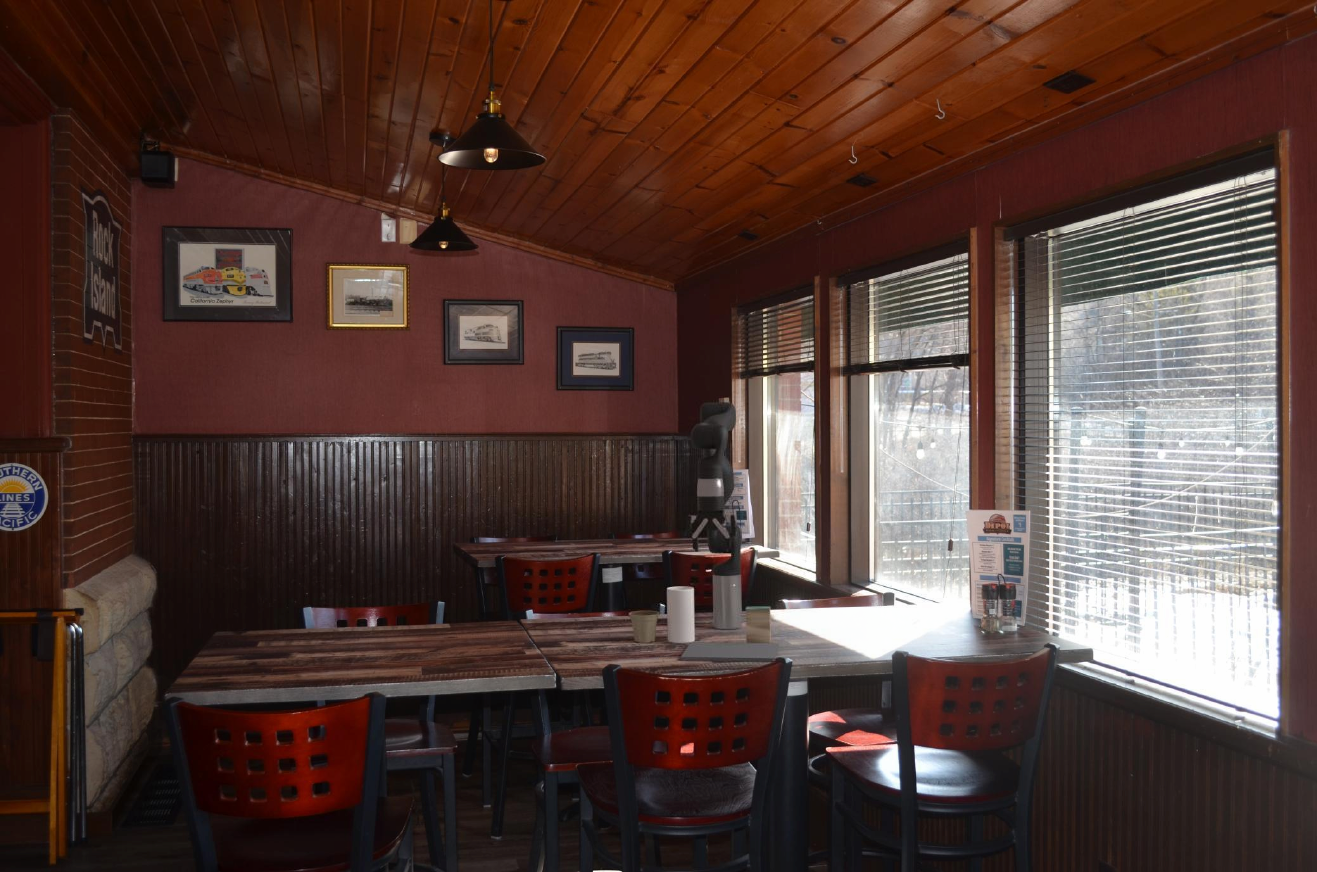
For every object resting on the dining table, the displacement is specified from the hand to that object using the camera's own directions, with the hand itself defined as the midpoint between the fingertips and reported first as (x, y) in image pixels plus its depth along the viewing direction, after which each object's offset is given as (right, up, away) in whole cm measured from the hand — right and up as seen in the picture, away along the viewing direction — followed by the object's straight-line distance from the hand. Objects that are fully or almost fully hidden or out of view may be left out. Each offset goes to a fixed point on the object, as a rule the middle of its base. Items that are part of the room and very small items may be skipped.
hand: (711, 551), depth 305 cm
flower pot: (-19, -30, +22) cm, 42 cm away
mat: (+6, -29, +1) cm, 30 cm away
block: (+15, -29, +14) cm, 35 cm away
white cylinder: (-8, -30, +22) cm, 38 cm away
